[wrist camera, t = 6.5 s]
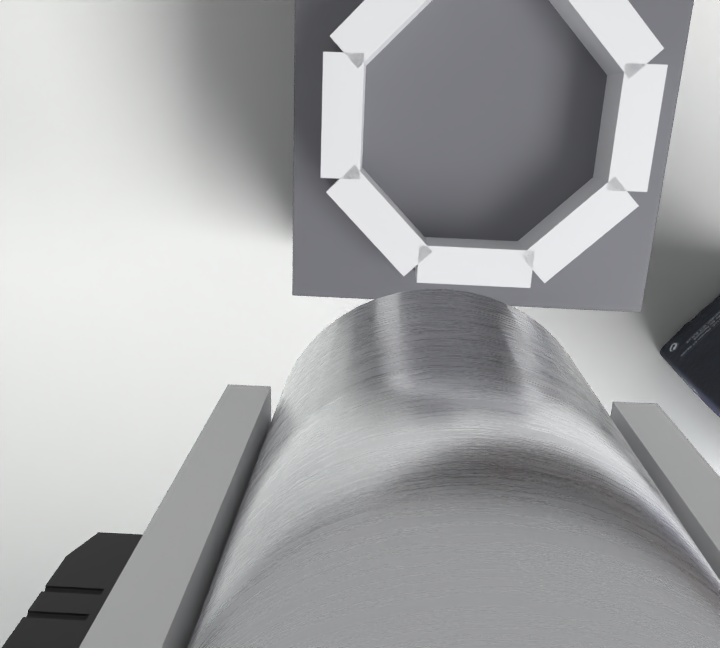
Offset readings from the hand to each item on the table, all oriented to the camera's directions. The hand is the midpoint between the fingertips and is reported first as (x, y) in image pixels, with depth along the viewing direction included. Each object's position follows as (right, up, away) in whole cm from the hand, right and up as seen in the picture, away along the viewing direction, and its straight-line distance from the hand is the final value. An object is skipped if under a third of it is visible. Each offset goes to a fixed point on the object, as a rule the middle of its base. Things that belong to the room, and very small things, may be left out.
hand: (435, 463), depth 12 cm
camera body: (+3, +13, +16) cm, 21 cm away
